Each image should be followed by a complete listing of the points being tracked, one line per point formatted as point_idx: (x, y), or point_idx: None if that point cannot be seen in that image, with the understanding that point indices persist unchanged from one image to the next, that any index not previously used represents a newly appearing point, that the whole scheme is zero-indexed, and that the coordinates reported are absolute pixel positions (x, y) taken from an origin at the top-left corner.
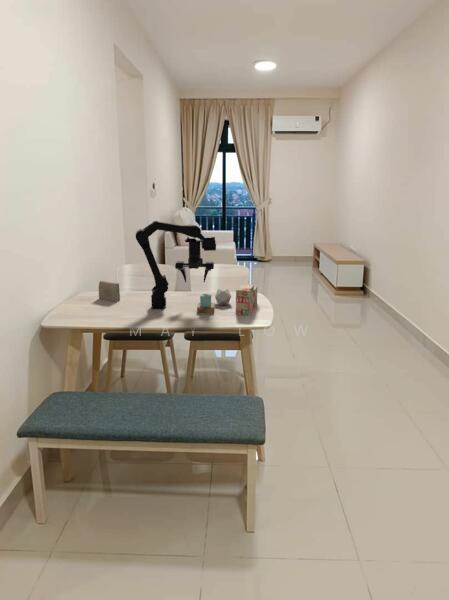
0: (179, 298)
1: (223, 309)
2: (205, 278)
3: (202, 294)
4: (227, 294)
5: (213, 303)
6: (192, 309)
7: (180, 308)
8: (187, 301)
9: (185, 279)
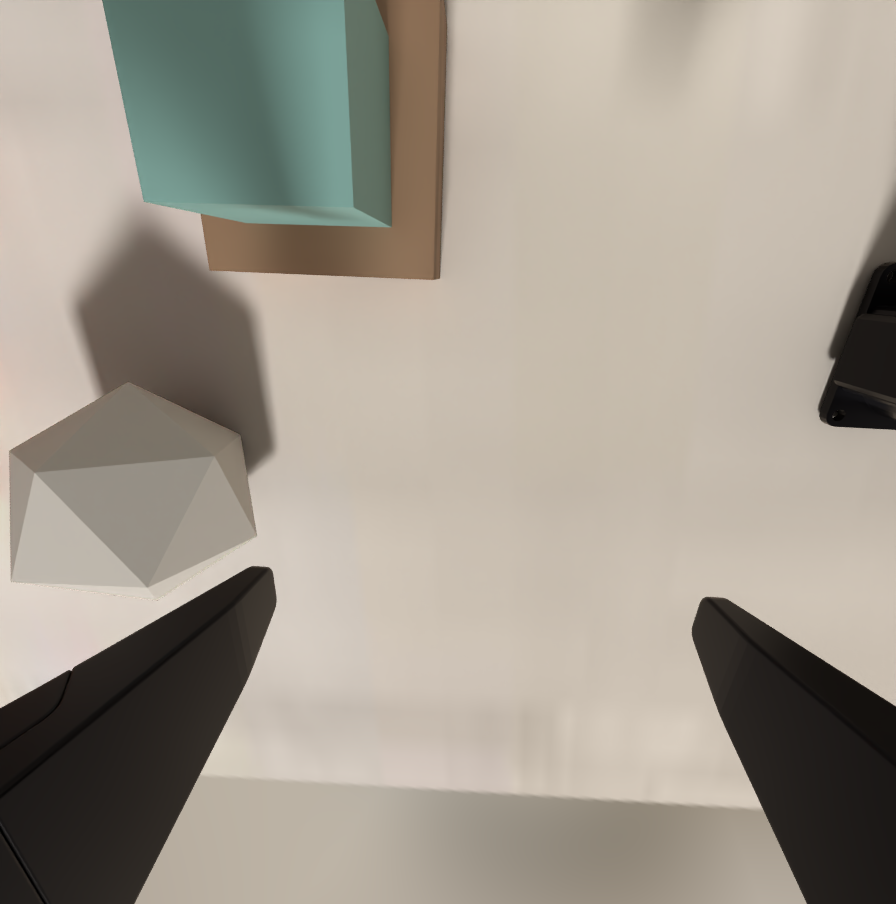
0: (630, 646)
1: (144, 248)
2: (158, 619)
3: (312, 144)
4: (26, 454)
5: (218, 244)
6: (509, 246)
7: (655, 293)
8: (558, 555)
9: (764, 642)
